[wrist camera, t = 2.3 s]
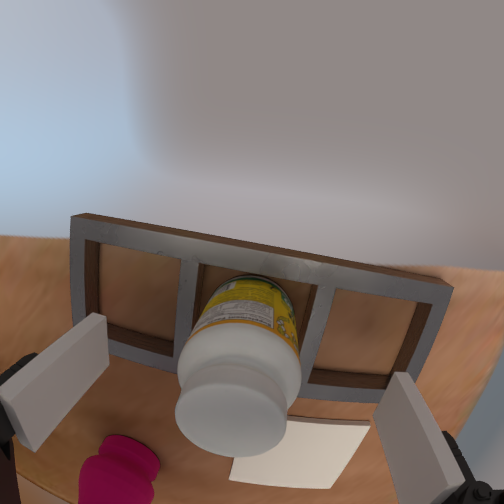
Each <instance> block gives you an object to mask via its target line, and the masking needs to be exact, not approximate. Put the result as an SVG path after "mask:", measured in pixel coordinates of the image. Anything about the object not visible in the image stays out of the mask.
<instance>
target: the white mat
mask: <svg viewBox="0 0 504 504" xmlns="http://www.w3.org/2000/svg"><path fill="white" fill-rule="evenodd" d="M370 426H371V425H370V422H369V421H350V420H331V419H318V418H307V417H297V416H288V415H287V426H286V432H285V435H284V437H283V438H282V440H281V441H280V442H279V444H278V445H277V446H275V447H274V448H272V449H271V450H269V451H267V452H265V453H263V454H260V455H256V456H251V457H234V460H233V464H232V468H231V472H230V476H229V480H233V481H239V482H246V483H253V484H261V485H270V486H280V487H294V488H318V489H330V488H331V486H332V485H333V484H334V482H335V481H336V479H337V478H338V477H339V475H340V474H341V472H342V471H343V469H344V468H345V466H346V465H347V463H348V462H349V460H350V459H351V457H352V456H353V454H354V453H355V451H356V450H357V448H358V446H359V445H360V443H361V441H362V440H363V438H364V436H365V435H366V433H367V431H368V430H369V428H370Z"/></svg>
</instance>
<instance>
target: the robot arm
mask: <svg viewBox="0 0 504 504" xmlns="http://www.w3.org/2000/svg"><path fill="white" fill-rule="evenodd" d="M109 365H110V364H109V352H108V338H107V318H106V316H103V315H100V314H97V313H94V312H93V313H91V314H90V315H89V316H87V317H86V318H85V319H83V320H82V321H81V322H80V323H78V324H77V325H76V326H74V327H73V328H72V329H70V330H69V331H68V332H67V333H65V334H64V335H63V336H61V337H60V338H59V339H58V340H56V341H55V342H54V343H53V344H51V345H50V346H49V347H47V348H46V349H45V350H44V351H42V352H41V353H40V354H37V353H35V352H34V353H32V354H29V355H26V356H24V357H23V358H21V359H20V360H19V361H18V362H16V364H14V365H12V366H11V367H10V369H7V370H6V371H5V372H4V373H2V374H1V375H0V504H21V501H20V495H19V489H18V482H17V476H16V467H15V458H14V446H13V441H12V437H13V435H14V434H16V436H17V438H18V440H19V442H20V443H21V444H22V445H24V446H25V447H27V448H28V449H30V450H31V451H33V452H34V453H35V452H36V451H37V450H38V448H39V447H40V446H41V445H42V444H43V442H44V441H45V440H46V439H47V438H48V436H49V435H50V434H51V433H52V431H53V430H54V429H55V428H56V427H57V425H58V424H59V423H60V422H61V421H62V419H63V418H64V417H65V416H66V415H67V414H68V412H69V411H70V410H71V409H72V408H73V406H74V405H75V404H76V403H77V402H78V401H79V399H80V398H81V397H82V396H83V395H84V394H85V392H86V391H87V390H88V389H89V388H90V387H91V385H92V384H93V383H94V382H95V381H96V380H97V379H98V377H99V376H100V375H101V374H102V373H103V372H104V371H105V369H106V368H107V367H108V366H109ZM373 418H374V421H375V424H376V427H377V430H378V433H379V437H380V440H381V443H382V446H383V449H384V453H385V456H386V459H387V462H388V466H389V469H390V473H391V476H392V480H393V483H394V487H395V490H396V494H397V498H398V501H399V504H504V490H492V488H491V487H490V486H489V484H487V483H485V482H482V481H476V480H475V478H474V477H473V474H472V472H471V470H470V468H469V466H468V464H467V462H466V461H465V458H464V457H463V456H462V453H461V451H460V449H458V445H457V443H456V441H455V440H454V438H453V437H452V436H451V435H450V434H449V433H448V432H447V431H441V430H440V428H439V426H438V424H437V423H436V421H435V419H434V417H433V415H432V413H431V412H430V410H429V408H428V406H427V404H426V403H425V401H424V399H423V397H422V395H421V394H420V392H419V390H418V388H417V387H416V385H415V383H414V381H413V380H412V378H411V376H410V375H409V373H408V372H394V374H393V376H392V378H391V380H390V382H389V384H388V387H387V389H386V391H385V393H384V395H383V397H382V399H381V400H380V402H379V404H378V406H377V408H376V410H375V412H374V414H373Z"/></svg>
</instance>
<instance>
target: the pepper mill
mask: <svg viewBox="0 0 504 504" xmlns="http://www.w3.org/2000/svg"><path fill="white" fill-rule="evenodd" d="M159 469H160V462H159V460H158V458H157V457H156V455H155V454H154V453H153V452H152V451H151V450H150V449H149V448H147V447H146V446H144V445H143V444H141V443H139V442H138V441H136V440H133V439H131V438H129V437H125V436H121V435H111V436H108V437H106V438H105V440H104V441H103V443H102V445H101V446H100V448H99V455H94V456H91V457H89V458H87V459H86V461H85V462H84V464H83V466H82V468H81V471H80V475H79V501H78V504H150V503H151V502H152V500H153V498H154V489H153V486H152V484H151V481H154V480H155V478H156V476H157V474H158V471H159Z"/></svg>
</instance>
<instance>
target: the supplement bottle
mask: <svg viewBox="0 0 504 504" xmlns="http://www.w3.org/2000/svg"><path fill="white" fill-rule="evenodd" d="M177 373H178V380H179V384H180V387H181V389H182V390H181V394H180V396H179V399H178V401H177V404H176V407H175V419H176V423H177V425H178V427H179V429H180V430H181V432H182V433H183V434H184V435H185V437H186V438H187V439H189V440H190V441H191V442H192V443H194V444H195V445H197V446H198V447H200V448H202V449H204V450H206V451H209V452H211V453H214V454H217V455H222V456H226V457H251V456H256V455H260V454H263V453H265V452H267V451H269V450H271V449H272V448H274V447H275V446H277V445H278V444H279V442H280V441H281V440H282V438H283V437H284V435H285V432H286V426H287V410H288V409H289V408H290V406H291V405H292V404H293V402H294V401H295V399H296V397H297V395H298V393H299V390H300V386H301V364H300V356H299V347H298V339H297V330H296V322H295V314H294V309H293V306H292V303H291V301H290V299H289V298H288V296H287V295H286V293H285V292H284V291H283V289H282V288H281V287H280V286H278V285H277V284H276V283H275V282H273V281H271V280H269V279H267V278H264V277H260V276H253V275H244V276H239V277H235V278H232V279H230V280H228V281H226V282H225V283H223V284H222V285H221V286H219V287H218V288H217V289H216V290H215V292H214V293H213V295H212V296H211V298H210V299H209V301H208V303H207V305H206V307H205V308H204V311H203V312H202V314H201V316H200V318H199V320H198V322H197V323H196V325H195V327H194V329H193V331H192V333H191V334H190V336H189V338H188V340H187V342H186V344H185V346H184V348H183V350H182V352H181V354H180V357H179V361H178V367H177Z"/></svg>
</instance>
